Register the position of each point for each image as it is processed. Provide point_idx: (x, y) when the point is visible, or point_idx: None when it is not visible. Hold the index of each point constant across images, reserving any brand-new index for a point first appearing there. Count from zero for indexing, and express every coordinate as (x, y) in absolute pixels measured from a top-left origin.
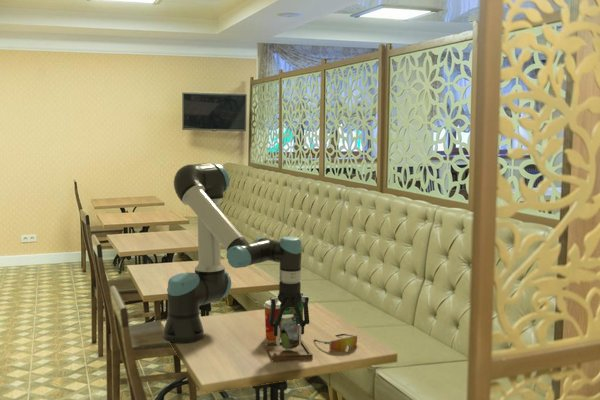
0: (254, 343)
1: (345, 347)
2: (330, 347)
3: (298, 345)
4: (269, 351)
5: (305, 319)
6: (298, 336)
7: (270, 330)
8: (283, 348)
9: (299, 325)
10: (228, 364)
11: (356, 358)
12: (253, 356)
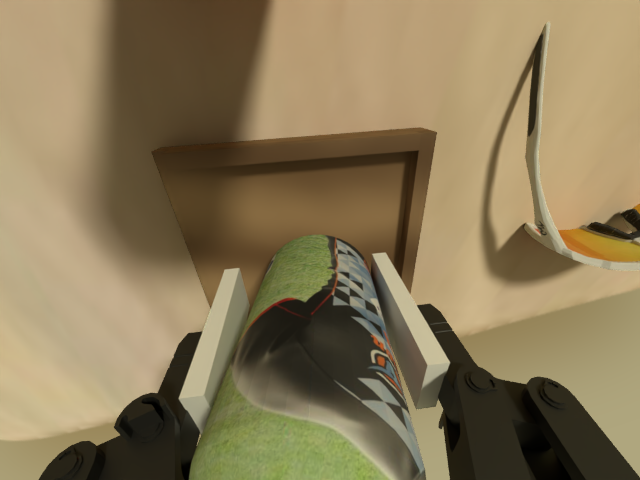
0: (42, 30)
1: (602, 239)
2: (535, 239)
3: (384, 185)
4: (196, 260)
5: (549, 427)
6: (384, 311)
7: None
8: (282, 224)
9: (431, 386)
10: (13, 344)
11: (560, 305)
12: (114, 272)
